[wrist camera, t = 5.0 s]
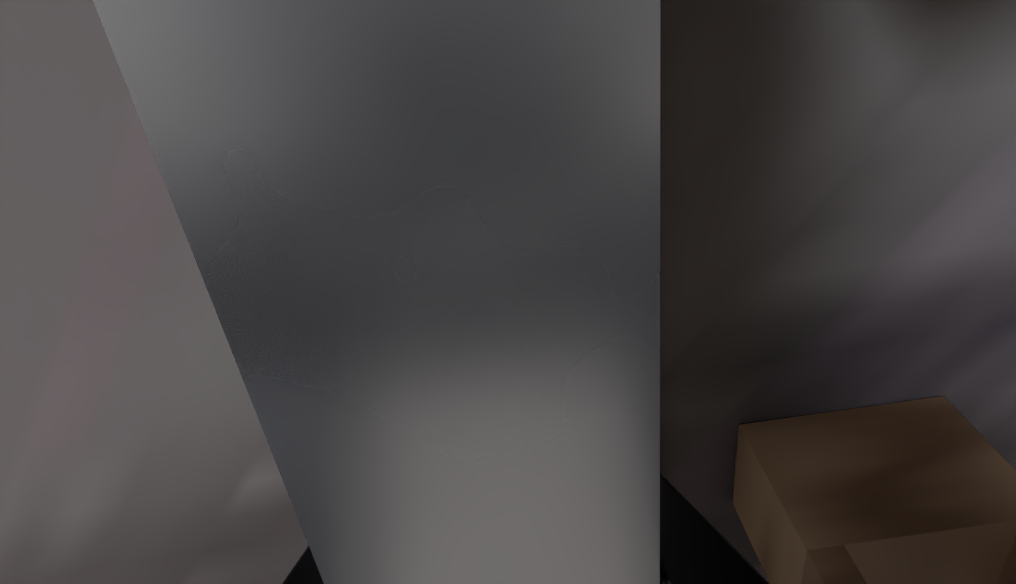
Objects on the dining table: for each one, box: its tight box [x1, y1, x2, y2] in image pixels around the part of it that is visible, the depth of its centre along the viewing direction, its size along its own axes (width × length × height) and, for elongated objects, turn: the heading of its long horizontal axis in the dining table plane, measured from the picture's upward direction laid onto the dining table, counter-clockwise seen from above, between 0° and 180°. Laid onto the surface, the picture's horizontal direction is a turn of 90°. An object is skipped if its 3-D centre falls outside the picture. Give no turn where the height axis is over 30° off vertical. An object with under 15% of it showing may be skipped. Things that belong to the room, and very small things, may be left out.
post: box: [733, 396, 1016, 584], centre depth 17 cm, size 6×3×5 cm, turn 96°
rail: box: [93, 0, 660, 584], centre depth 8 cm, size 3×22×3 cm, turn 6°
